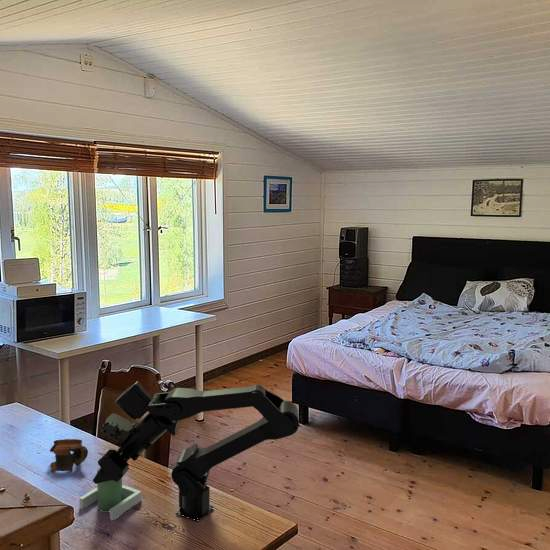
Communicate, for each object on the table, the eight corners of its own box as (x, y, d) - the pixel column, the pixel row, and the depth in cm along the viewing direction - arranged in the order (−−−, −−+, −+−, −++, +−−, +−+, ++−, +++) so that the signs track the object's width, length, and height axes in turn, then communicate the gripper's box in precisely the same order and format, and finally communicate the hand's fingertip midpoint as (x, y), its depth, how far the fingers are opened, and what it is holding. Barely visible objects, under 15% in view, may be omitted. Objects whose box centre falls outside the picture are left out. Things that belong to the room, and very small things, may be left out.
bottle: (127, 503, 133) (126, 455, 131) (110, 514, 128) (109, 465, 127) (110, 496, 136) (109, 450, 134) (92, 507, 131) (91, 459, 129)
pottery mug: (39, 472, 148) (43, 440, 151) (65, 473, 156) (67, 442, 159) (76, 469, 144) (78, 436, 147) (100, 470, 152) (101, 439, 155)
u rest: (141, 500, 134) (141, 491, 134) (113, 521, 126) (112, 510, 126) (109, 489, 139) (108, 480, 139) (79, 507, 131) (79, 498, 130)
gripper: (138, 391, 137) (97, 430, 140) (105, 422, 119) (58, 466, 122) (169, 424, 137) (127, 462, 140) (141, 460, 119) (94, 503, 122)
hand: (103, 472), depth 131 cm, fingers open, 9 cm apart
